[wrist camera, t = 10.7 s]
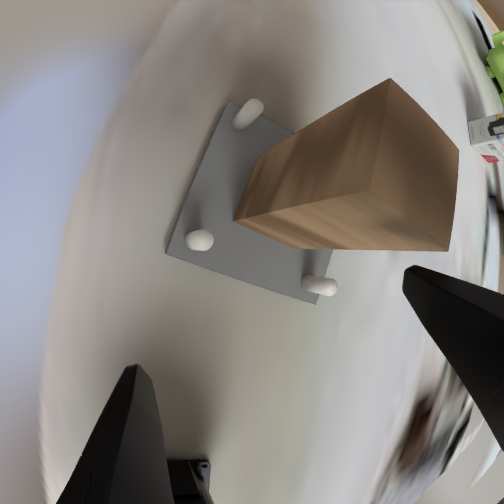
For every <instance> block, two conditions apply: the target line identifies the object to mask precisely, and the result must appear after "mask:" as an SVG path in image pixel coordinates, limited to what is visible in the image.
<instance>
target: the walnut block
mask: <svg viewBox="0 0 504 504" xmlns="http://www.w3.org/2000/svg"><path fill="white" fill-rule="evenodd" d="M458 164H459V149H458V148H457V147H456V145H455V144H454V143H453V142H452V141H451V139H450V138H449V137H448V136H447V135H446V134H445V132H444V131H443V130H442V129H441V128H440V127H439V126H438V125H437V123H436V122H435V121H434V120H433V119H432V118H431V117H430V116H429V115H428V114H427V113H426V112H425V111H424V110H423V109H422V108H421V106H420V105H419V104H418V103H417V102H416V101H415V100H414V99H412V98H411V97H410V96H409V95H408V94H407V93H406V92H405V91H404V90H403V89H402V88H401V87H400V86H399V85H398V84H397V83H395V82H394V81H393V80H392V79H391V78H389V79H387V80H385V81H383V82H381V83H380V84H378V85H376V86H374V87H372V88H371V89H369V90H367V91H365V92H363V93H362V94H360V95H358V96H356V97H355V98H353V99H351V100H349V101H348V102H346V103H344V104H343V105H341V106H339V107H337V108H336V109H334V110H332V111H331V112H329V113H327V114H326V115H324V116H323V117H321V118H319V119H318V120H316V121H314V122H313V123H311V124H310V125H308V126H306V127H305V128H303V129H302V130H300V131H298V132H297V133H295V134H294V135H292V136H291V137H289V138H288V139H286V140H285V141H283V142H281V143H280V144H278V145H277V146H275V147H274V148H272V149H271V150H269V151H268V152H266V153H265V154H263V155H262V156H260V157H259V158H258V159H257V160H256V163H255V165H254V168H253V170H252V173H251V175H250V178H249V180H248V183H247V185H246V188H245V191H244V193H243V196H242V198H241V201H240V203H239V206H238V208H237V211H236V214H235V216H234V219H233V221H232V222H234V223H237V224H239V225H241V226H243V227H246V228H248V229H250V230H252V231H255V232H257V233H259V234H262V235H264V236H266V237H268V238H270V239H273V240H275V241H277V242H279V243H282V244H284V245H286V246H288V247H291V248H296V249H348V250H396V251H439V252H448V250H449V244H450V238H451V232H452V226H453V219H454V211H455V202H456V192H457V180H458Z"/></svg>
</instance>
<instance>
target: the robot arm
mask: <svg viewBox="0 0 504 504" xmlns="http://www.w3.org/2000/svg"><path fill="white" fill-rule="evenodd" d="M402 289H403V293H404V295H405V296H406V298H407V300H408V301H409V303H410V304H411V306H412V308H413V309H414V311H415V313H416V314H417V316H418V318H419V319H420V321H421V323H422V324H423V326H424V327H425V329H426V330H427V332H428V333H429V335H430V336H431V337H432V339H433V340H434V341H435V343H436V344H437V346H438V347H439V348H440V350H441V351H442V353H443V354H444V356H445V357H446V359H447V360H448V361H449V363H450V364H451V366H452V367H453V369H454V370H455V372H456V373H457V375H458V376H459V378H460V379H461V381H462V383H463V384H464V386H465V387H466V389H467V390H468V392H469V393H470V395H471V397H472V398H473V400H474V402H475V403H476V405H477V406H478V408H479V410H480V411H481V413H482V415H483V417H484V418H485V420H486V422H487V423H488V425H489V427H490V429H491V431H492V432H493V434H494V436H495V438H496V440H497V442H498V443H499V445H500V447H501V449H502V450H503V451H504V294H503V295H501V293H498V292H495V291H492V290H489V289H486V288H484V287H481V286H478V285H475V284H472V283H469V282H466V281H463V280H460V279H457V278H454V277H451V276H448V275H445V274H442V273H439V272H436V271H433V270H430V269H427V268H424V267H420V266H417V265H413V266H411V267H409V268H407V269H405V271H404V278H403V286H402ZM204 464H206V465H204ZM210 468H211V465H210V462H209V461H208V460H181V461H166V454H165V447H164V439H163V432H162V425H161V420H160V416H159V412H158V407H157V403H156V398H155V393H154V388H153V384H152V381H151V379H150V377H149V376H148V375H147V374H146V372H145V371H144V370H143V369H142V367H141V366H140V365H139V364H133V365H129V366H127V367H126V368H125V369H124V371H123V373H122V375H121V376H120V378H119V380H118V382H117V384H116V386H115V388H114V390H113V392H112V394H111V396H110V397H109V399H108V401H107V403H106V405H105V407H104V409H103V411H102V413H101V415H100V417H99V419H98V421H97V423H96V425H95V427H94V429H93V431H92V433H91V435H90V438H89V440H88V442H87V444H86V446H85V448H84V450H83V452H82V456H80V458H79V461H78V463H77V465H76V467H75V469H74V471H73V473H72V475H71V477H70V479H69V481H68V483H67V485H66V487H65V488H64V490H63V492H62V494H61V495H60V497H59V499H58V501H57V503H56V504H214V502H213V500H212V498H211V496H210V493H209V483H210ZM497 504H504V498H503V499H502V500H501V501H500V502H499V503H497Z"/></svg>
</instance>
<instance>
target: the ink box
mask: <svg viewBox="0 0 504 504" xmlns="http://www.w3.org/2000/svg"><path fill="white" fill-rule="evenodd" d="M468 127H469V134H470V142H471V146H472V147H473V148H474V149H475V150H476V151H477V152H479V153H480V154H481V155H482V156H483V157H484V158H485V159H486V160H487V161H488V162H489V163H491V162H497V161H503V160H504V113H500V114H496V115H492V116H488V117H484V118H481V119H477V120H473V121H470V122H468Z"/></svg>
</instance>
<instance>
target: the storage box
mask: <svg viewBox="0 0 504 504" xmlns="http://www.w3.org/2000/svg"><path fill="white" fill-rule="evenodd" d="M492 38H493V42H494V46H495V48H493V49H490V50H489V53H488V55H487V58H486V60H487V62H488V64H489V66H490V67H486V66H485V69H486V72H487V74H488V75H489V77H490V78H496V79H497V80H498V82H499V84H500V86H501V89H502V91H503V92H502V93H501V94H500V99H501V101H502V103H503V105H504V45H502V41H504V31H501V32H499V33H496V34H494V35H493V36H492Z"/></svg>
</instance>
